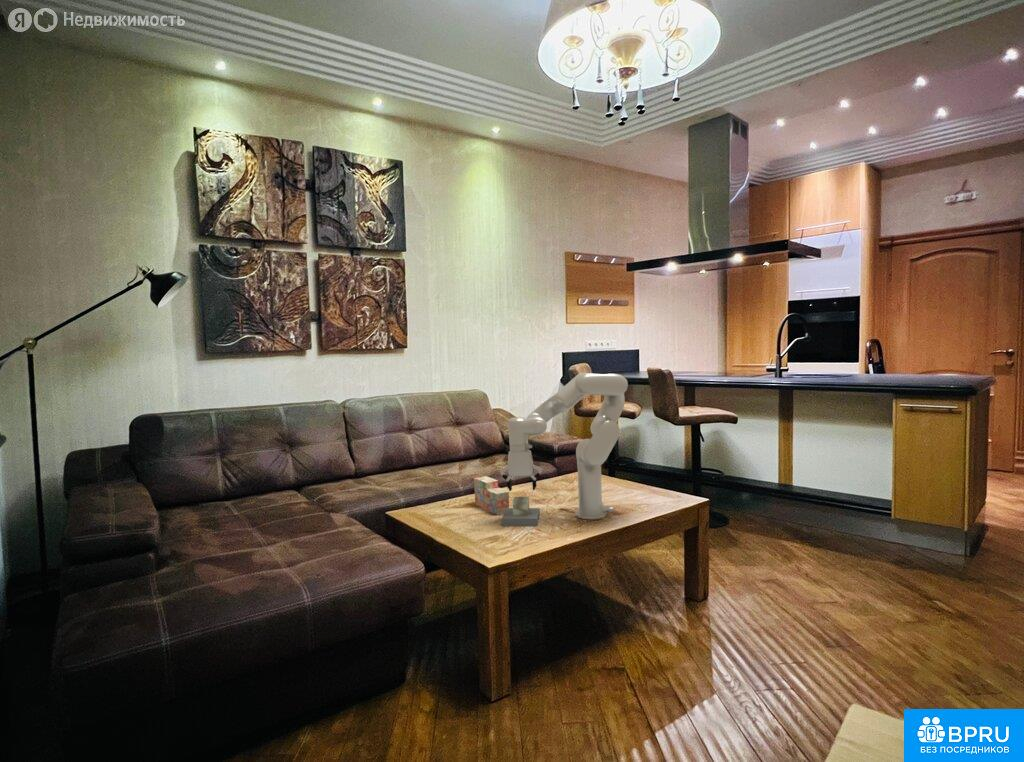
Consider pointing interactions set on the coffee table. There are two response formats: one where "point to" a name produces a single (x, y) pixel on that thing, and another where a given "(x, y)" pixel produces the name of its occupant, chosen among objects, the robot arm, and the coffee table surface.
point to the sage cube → (521, 506)
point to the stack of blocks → (490, 495)
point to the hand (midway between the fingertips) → (522, 489)
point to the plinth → (521, 518)
